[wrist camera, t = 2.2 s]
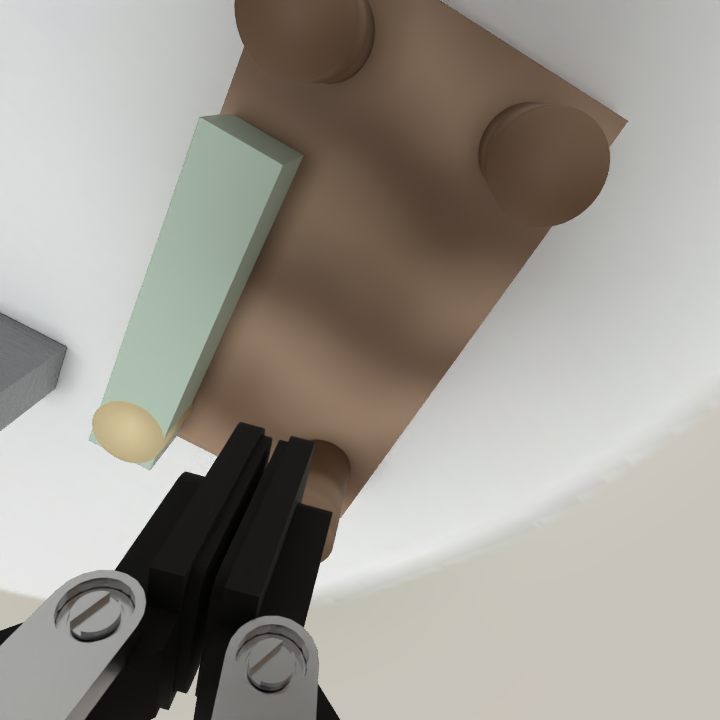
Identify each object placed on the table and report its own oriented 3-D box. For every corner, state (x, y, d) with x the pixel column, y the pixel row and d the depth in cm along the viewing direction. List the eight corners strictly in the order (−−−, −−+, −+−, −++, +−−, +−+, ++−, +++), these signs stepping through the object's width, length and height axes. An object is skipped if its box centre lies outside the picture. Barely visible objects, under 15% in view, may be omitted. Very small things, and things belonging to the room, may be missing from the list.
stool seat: (308, -75, 19) (243, -158, 13) (611, 118, 20) (688, 130, 14) (135, 385, 29) (51, 466, 22) (346, 493, 30) (321, 597, 24)
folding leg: (180, 434, 27) (150, 474, 24) (122, 404, 27) (84, 442, 24) (306, 156, 20) (284, 167, 17) (230, 111, 20) (195, 115, 17)
